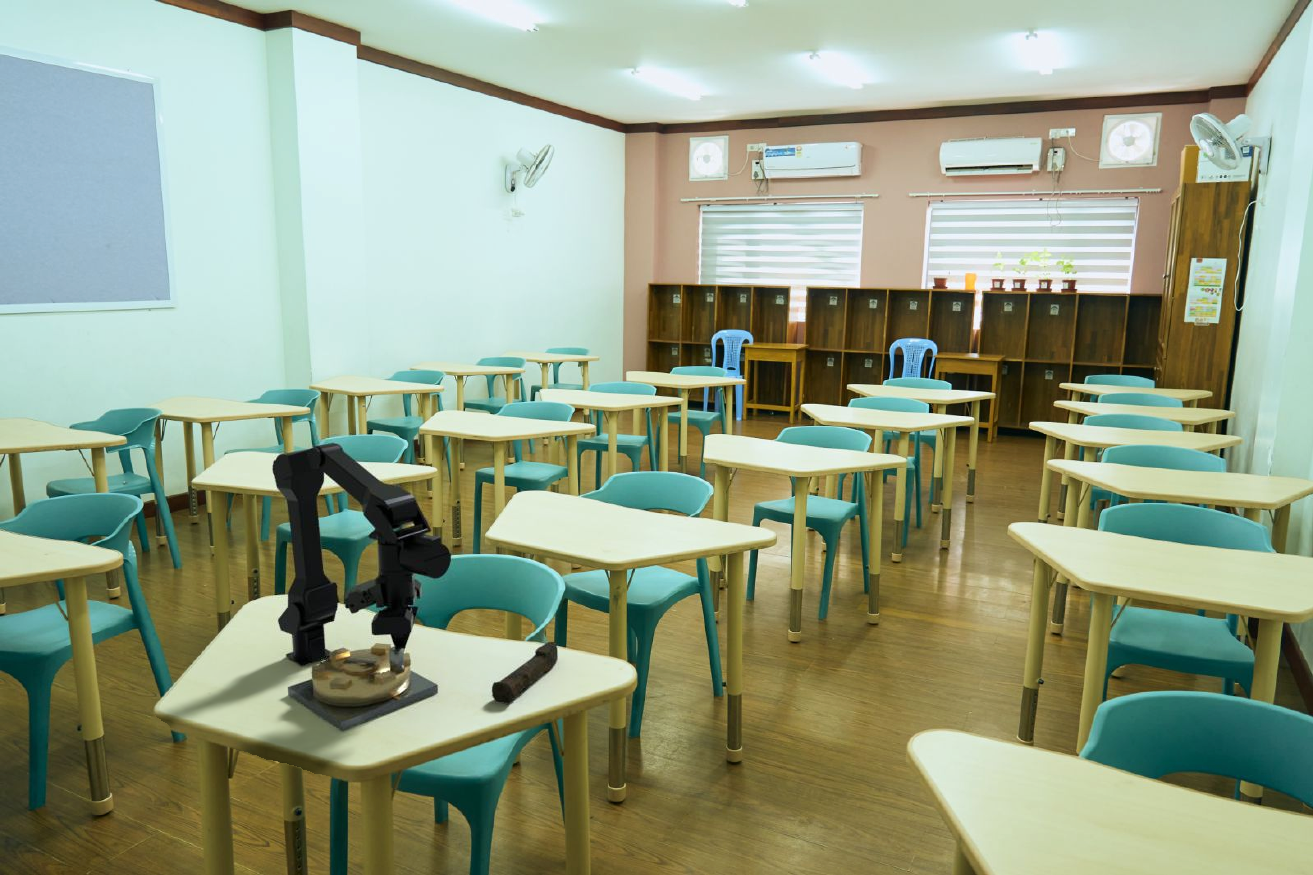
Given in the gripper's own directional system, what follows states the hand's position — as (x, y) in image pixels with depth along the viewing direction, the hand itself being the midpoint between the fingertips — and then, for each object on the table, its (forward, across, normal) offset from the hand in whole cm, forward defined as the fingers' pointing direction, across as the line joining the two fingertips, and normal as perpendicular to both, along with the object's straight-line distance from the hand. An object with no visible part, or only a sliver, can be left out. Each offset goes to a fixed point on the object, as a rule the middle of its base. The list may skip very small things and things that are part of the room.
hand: (400, 652), depth 153 cm
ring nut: (+5, 0, -6) cm, 8 cm away
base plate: (+7, 0, -6) cm, 10 cm away
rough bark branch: (+8, -1, +22) cm, 23 cm away
